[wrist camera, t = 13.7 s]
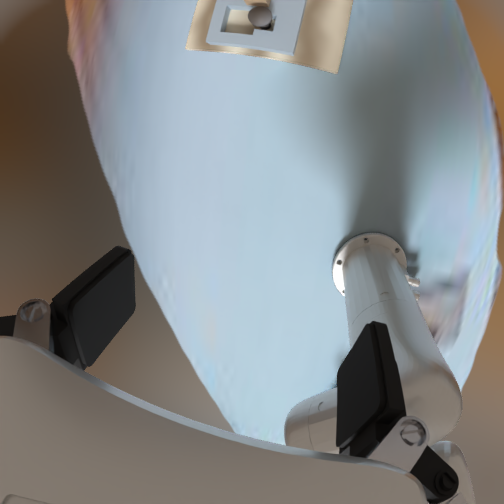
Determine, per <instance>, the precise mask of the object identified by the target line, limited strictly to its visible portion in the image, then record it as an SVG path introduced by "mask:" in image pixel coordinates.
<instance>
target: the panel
mask: <svg viewBox="0 0 504 504" xmlns="http://www.w3.org/2000/svg"><path fill="white" fill-rule="evenodd" d="M306 3H307V0H217V1H216V4H215V8H214V11H213V15H212V19H211V22H210V26H209V30H208V34H207V38H206V42H207V43H209V44H210V45H221V46H232V47H241V48H249V49H256V50H262V51H269V52H274V53H280V54H285V55H290V56H294V54H295V50H296V46H297V41H298V37H299V33H300V29H301V24H302V20H303V16H304V12H305V8H306ZM257 6H264V7H266V8H268V9H269V10H270V11H271V13H272V16H273V18H272V19H273V20H276V21H275V25H274V29H273V31H266V30H259V29H254V32H253V35H248V34H239V33H228V32H225V30H226V26H227V22H228V18H229V14H230V11H231V10H245V11H250V10H251V9H252V8H254V7H257Z"/></svg>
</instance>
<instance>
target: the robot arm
mask: <svg viewBox="0 0 504 504" xmlns="http://www.w3.org/2000/svg"><path fill="white" fill-rule="evenodd" d="M364 238H367V239H364ZM396 248H397V249H396ZM338 260H340V261H338ZM332 274H333V280H334V283H335V286H336V287H337V289H338V291H339V292H340V293H341V294H342V295H343V296H345V302H346V311H347V321H348V331H349V340H350V348H351V350H350V352H349V353H348V355H347V357H346V358H345V360H344V361H343V363H342V364H341V366H340V368H339V370H338V373H337V387H336V388H333V389H330V390H328V391H325V392H323V393H320V394H318V395H315V396H312V397H310V398H308V399H305V400H303V401H301V402H300V403H298V404H297V405H295V406H294V407H293V408H292V409H291V411H290V412H289V414H288V415H287V418H286V421H285V426H284V437H285V443H286V446H285V445H281V444H276V443H271V442H267V441H263V440H258V439H254V438H250V437H247V436H243V435H239V434H236V433H232V432H229V431H225V430H221V429H218V428H215V427H212V426H209V425H206V424H203V423H200V422H197V421H194V420H191V419H188V418H186V417H183V416H180V415H178V414H175V413H172V412H169V411H167V410H165V409H162V408H160V407H157V406H155V405H152V404H150V403H148V402H146V401H143V400H141V399H139V398H137V397H134V396H132V395H130V394H128V393H126V392H124V391H121V390H119V389H117V388H115V387H113V386H111V385H109V384H107V383H105V382H103V381H102V380H100V379H98V378H96V377H94V376H92V375H90V374H89V373H87V372H85V371H84V370H85V369H86V367H87V366H88V367H90V366H91V365H92V364H93V363H94V362H95V361H96V359H97V358H98V357H99V355H100V354H101V353H102V352H103V350H104V349H105V348H106V346H107V345H108V344H109V343H110V341H111V340H112V339H113V338H114V336H115V335H116V334H117V333H118V332H119V330H120V329H121V328H122V327H123V325H124V324H125V323H126V322H127V320H128V319H129V318H130V317H131V316H132V314H133V313H134V311H135V306H136V304H135V280H134V255H133V254H131V250H129V249H126V248H123V247H121V246H116V247H115V248H113V249H112V250H111V251H109V252H108V253H107V254H106V255H104V256H103V257H102V258H101V259H99V260H98V261H97V262H95V263H94V264H93V265H92V266H90V267H89V268H88V269H87V270H85V271H84V272H83V273H82V274H81V275H79V276H78V277H77V278H76V279H75V280H73V281H72V282H71V283H70V284H69V285H67V286H66V287H65V288H64V289H63V290H62V291H60V292H59V293H58V294H57V295H56V296H55V297H54V298H52V301H53V302H52V303H51V304H50V305H49V304H48V303H47V302H46V301H45V300H42V299H30V300H28V301H26V302H24V303H23V304H22V305H21V306H20V307H19V308H18V311H17V314H16V315H12V316H5V317H0V504H476V503H475V498H474V493H473V487H472V483H471V479H470V474H469V471H468V466H467V463H466V460H465V457H464V455H463V453H462V451H461V449H460V448H459V447H458V446H457V445H456V444H455V443H453V442H451V441H441V440H442V439H443V438H444V437H446V436H447V435H448V434H449V433H450V432H451V431H452V430H453V429H454V427H455V426H456V425H457V423H458V421H459V419H460V417H461V413H462V396H461V392H460V388H459V385H458V383H457V381H456V379H455V377H454V375H453V373H452V371H451V370H450V368H449V366H448V364H447V363H446V361H445V359H444V358H443V356H442V354H441V353H440V351H439V349H438V347H437V345H436V343H435V342H434V339H433V337H432V335H431V333H430V330H429V328H428V326H427V324H426V321H425V319H424V317H423V314H422V312H421V309H420V307H419V305H418V303H417V301H418V300H419V296H420V294H419V292H418V291H415V290H412V289H411V287H410V285H411V286H415V287H418V286H419V284H420V279H418V278H415V277H410V276H409V275H408V273H407V260H406V256H405V253H404V251H403V249H402V248H401V246H400V245H399V244H398V243H397V242H396V241H395V240H394V239H393V238H391V237H389V236H387V235H384V234H381V233H365V234H361V235H358V236H356V237H353V238H352V239H350V240H349V241H347V242H346V243H345V244H344V245H343V246H342V247H341V248H340V249H339V251H338V252H337V254H336V256H335V258H334V261H333V266H332ZM439 441H440V442H439Z"/></svg>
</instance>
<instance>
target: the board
mask: <svg viewBox="0 0 504 504" xmlns="http://www.w3.org/2000/svg"><path fill="white" fill-rule="evenodd" d="M216 1H217V0H198V2H197V6H196V9H195V13H194V16H193V20H192V24H191V28H190V31H189V35H188V39H187V43H186V48H185V49H187V50H196V51H211V52H222V53H232V54H240V55H248V56H255V57H261V58H267V59H273V60H278V61H284V62H289V63H293V64H298V65H302V66H307V67H311V68H315V69H319V70H323V71H326V72H330V73H333V74H337V73H338V69H339V65H340V60H341V56H342V52H343V47H344V42H345V38H346V33H347V28H348V24H349V19H350V14H351V9H352V4H353V0H307V3H306V8H305V12H304V16H303V20H302V24H301V29H300V33H299V37H298V41H297V46H296V50H295V54H294V56H290V55H285V54H280V53H274V52H269V51H262V50H256V49H249V48H241V47H232V46H221V45H210V44H209V43H207V42H206V38H207V34H208V30H209V26H210V22H211V19H212V15H213V11H214V8H215V4H216ZM272 18H273V16H272V13H271V11H270V10H269V9H268V8H266V7H264V6H257V7H254V8H252V9H251V10H250V11H245V10H231V11H230V14H229V18H228V22H227V26H226V30H225V32H228V33H239V34H248V35H253V32H254V29H259V30H266V31H273V29H274V25H275V21H276V20H273V19H272Z"/></svg>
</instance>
